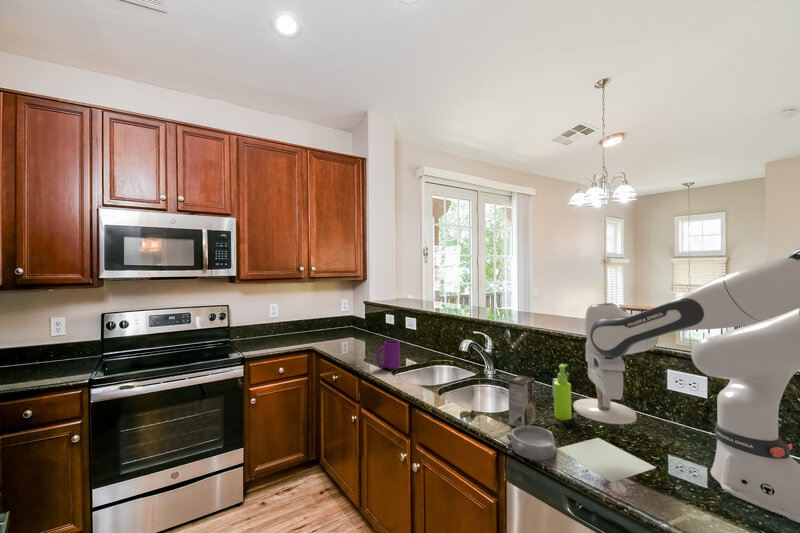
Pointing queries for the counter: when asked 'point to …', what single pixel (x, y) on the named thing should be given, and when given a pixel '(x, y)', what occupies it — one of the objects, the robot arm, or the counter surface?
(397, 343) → the mug
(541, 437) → the dish
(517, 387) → the coffee box
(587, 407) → the lid
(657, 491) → the counter surface
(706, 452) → the counter surface
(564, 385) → the soap dispenser
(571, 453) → the mat
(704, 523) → the counter surface
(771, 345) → the robot arm
